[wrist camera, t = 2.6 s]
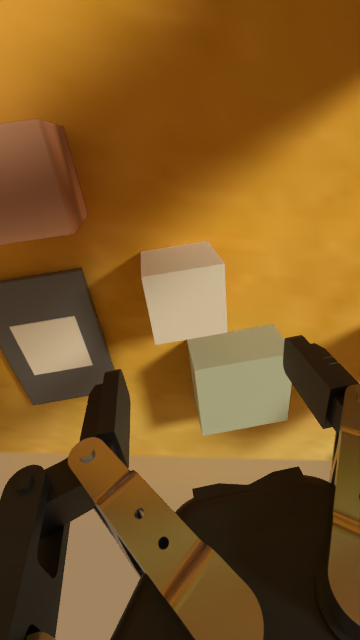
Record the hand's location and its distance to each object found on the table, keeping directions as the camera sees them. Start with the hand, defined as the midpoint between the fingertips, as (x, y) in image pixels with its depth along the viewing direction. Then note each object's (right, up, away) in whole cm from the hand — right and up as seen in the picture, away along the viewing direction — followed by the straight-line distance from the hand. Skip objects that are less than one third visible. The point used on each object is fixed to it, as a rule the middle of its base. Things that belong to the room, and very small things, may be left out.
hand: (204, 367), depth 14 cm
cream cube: (-1, +6, +8) cm, 10 cm away
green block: (+4, -2, +14) cm, 15 cm away
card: (-12, 0, +10) cm, 15 cm away
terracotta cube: (-10, +11, +4) cm, 16 cm away
